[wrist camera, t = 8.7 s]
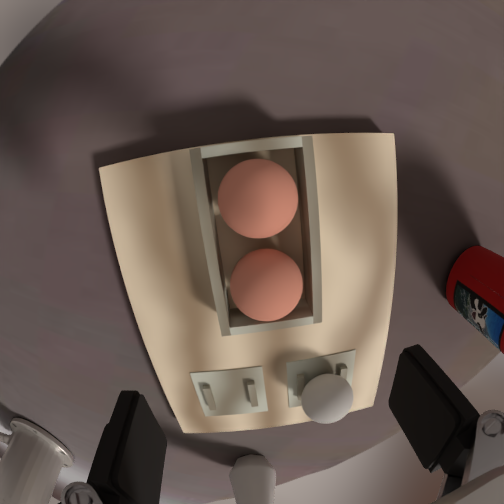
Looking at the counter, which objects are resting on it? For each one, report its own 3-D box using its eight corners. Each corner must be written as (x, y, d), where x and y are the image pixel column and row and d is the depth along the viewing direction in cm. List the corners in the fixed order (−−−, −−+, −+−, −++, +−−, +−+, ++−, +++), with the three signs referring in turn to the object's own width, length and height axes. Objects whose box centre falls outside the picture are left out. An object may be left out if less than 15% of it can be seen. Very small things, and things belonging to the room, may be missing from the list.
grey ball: (297, 401, 24) (306, 437, 20) (296, 368, 23) (306, 406, 18) (342, 392, 24) (356, 426, 20) (346, 358, 23) (363, 393, 18)
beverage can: (430, 295, 23) (510, 371, 12) (462, 231, 21) (559, 283, 10) (465, 311, 24) (533, 375, 13) (493, 256, 22) (572, 305, 11)
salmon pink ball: (226, 243, 19) (222, 269, 15) (293, 235, 19) (308, 259, 15) (235, 303, 20) (235, 339, 16) (297, 295, 20) (310, 329, 16)
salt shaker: (220, 458, 29) (220, 545, 17) (259, 446, 29) (268, 539, 16) (245, 473, 31) (250, 551, 19) (281, 462, 30) (294, 544, 18)
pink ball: (224, 231, 19) (222, 254, 14) (215, 163, 17) (208, 165, 13) (292, 222, 19) (309, 243, 14) (286, 154, 17) (302, 155, 13)
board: (185, 422, 27) (181, 451, 23) (107, 166, 18) (81, 170, 14) (368, 396, 27) (380, 422, 23) (383, 134, 18) (413, 132, 15)
